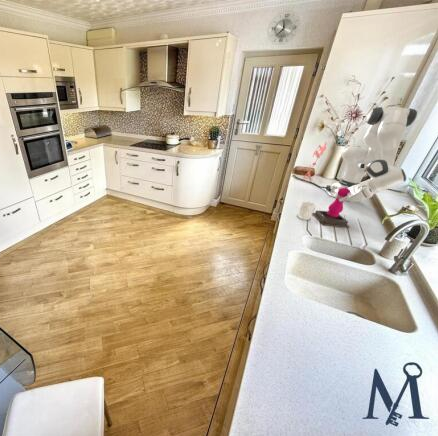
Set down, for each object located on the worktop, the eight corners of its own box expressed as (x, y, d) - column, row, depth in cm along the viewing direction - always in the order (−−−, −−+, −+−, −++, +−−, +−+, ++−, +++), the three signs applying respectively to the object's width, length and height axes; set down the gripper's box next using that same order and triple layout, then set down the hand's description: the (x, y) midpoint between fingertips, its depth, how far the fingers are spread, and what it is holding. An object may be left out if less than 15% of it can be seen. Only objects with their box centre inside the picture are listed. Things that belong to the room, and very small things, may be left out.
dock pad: (311, 213, 160) (313, 209, 158) (334, 215, 159) (337, 211, 157) (323, 225, 147) (325, 220, 145) (348, 227, 146) (351, 222, 144)
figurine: (301, 182, 214) (317, 143, 197) (302, 174, 233) (317, 138, 216) (321, 185, 207) (339, 146, 190) (320, 177, 227) (337, 140, 209)
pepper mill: (341, 218, 147) (357, 189, 137) (328, 216, 148) (343, 187, 138) (335, 212, 153) (350, 184, 143) (323, 211, 154) (337, 183, 144)
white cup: (309, 216, 157) (315, 203, 152) (310, 221, 150) (317, 208, 145) (296, 213, 159) (301, 200, 154) (297, 218, 153) (302, 205, 148)
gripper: (363, 178, 143) (336, 189, 153) (365, 188, 128) (336, 199, 138) (368, 187, 143) (341, 197, 153) (371, 198, 128) (341, 208, 138)
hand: (339, 198), depth 145 cm, fingers closed on pepper mill, 5 cm apart
